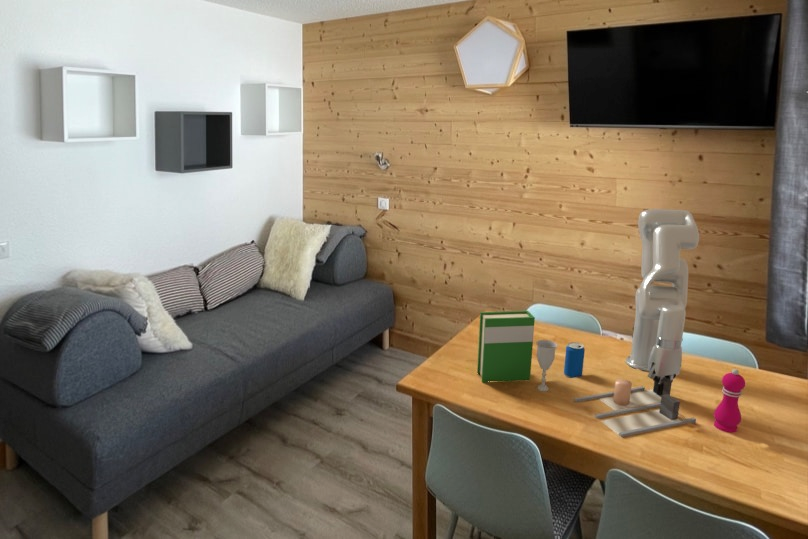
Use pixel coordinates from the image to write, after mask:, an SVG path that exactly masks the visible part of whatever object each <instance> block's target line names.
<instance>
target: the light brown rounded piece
mask: <svg viewBox="0 0 808 539" xmlns="http://www.w3.org/2000/svg"><path fill="white" fill-rule="evenodd" d="M614 383H615V384H614V389H613V390H614V397H613V401H614V403H616V404H618V405H629V402H630V394H631V393H632V392H631V388H633V387H632V385H633V383H632V381H630V380H629V379H624V378H617V379H615V382H614Z"/></svg>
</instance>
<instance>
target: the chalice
mask: <svg viewBox="0 0 808 539" xmlns="http://www.w3.org/2000/svg"><path fill="white" fill-rule="evenodd" d="M536 345H537V347H536V359H537V362H538V364H539V367H540V369H541V370H542V373H541V376H542V377H541V384H539V385H538V386H537V390H538V391H539V392H540V391H541V392H547V391H549V387H548V385H547V384H545V383H546V381H547V379H546V376H547V372H546V371H547V370H549V369H550V368H551V366H552V365H553V363H554V361H555V357H556V348H557V347H558V344H557V343H556V342H555V341H553V340H548V339H539V340H537V341H536Z"/></svg>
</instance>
